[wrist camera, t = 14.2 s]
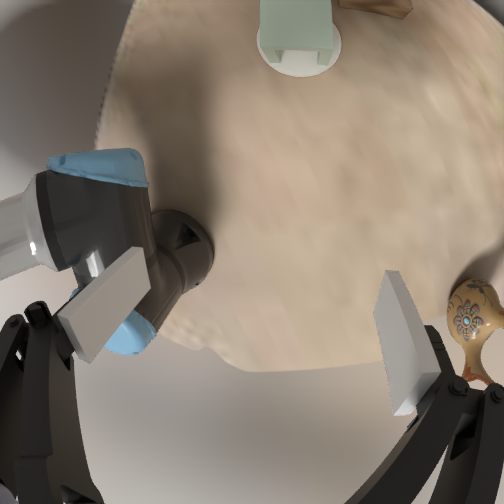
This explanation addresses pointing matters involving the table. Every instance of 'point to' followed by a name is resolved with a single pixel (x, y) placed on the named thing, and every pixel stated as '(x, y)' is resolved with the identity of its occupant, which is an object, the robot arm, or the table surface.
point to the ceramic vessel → (474, 323)
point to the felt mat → (302, 59)
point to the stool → (296, 28)
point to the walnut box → (380, 6)
